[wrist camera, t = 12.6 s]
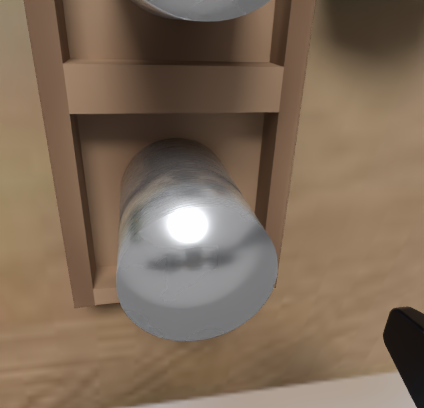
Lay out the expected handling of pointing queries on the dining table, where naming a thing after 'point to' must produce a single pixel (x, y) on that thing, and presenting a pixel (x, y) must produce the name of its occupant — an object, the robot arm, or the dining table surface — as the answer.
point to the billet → (189, 245)
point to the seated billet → (200, 8)
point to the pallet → (162, 110)
